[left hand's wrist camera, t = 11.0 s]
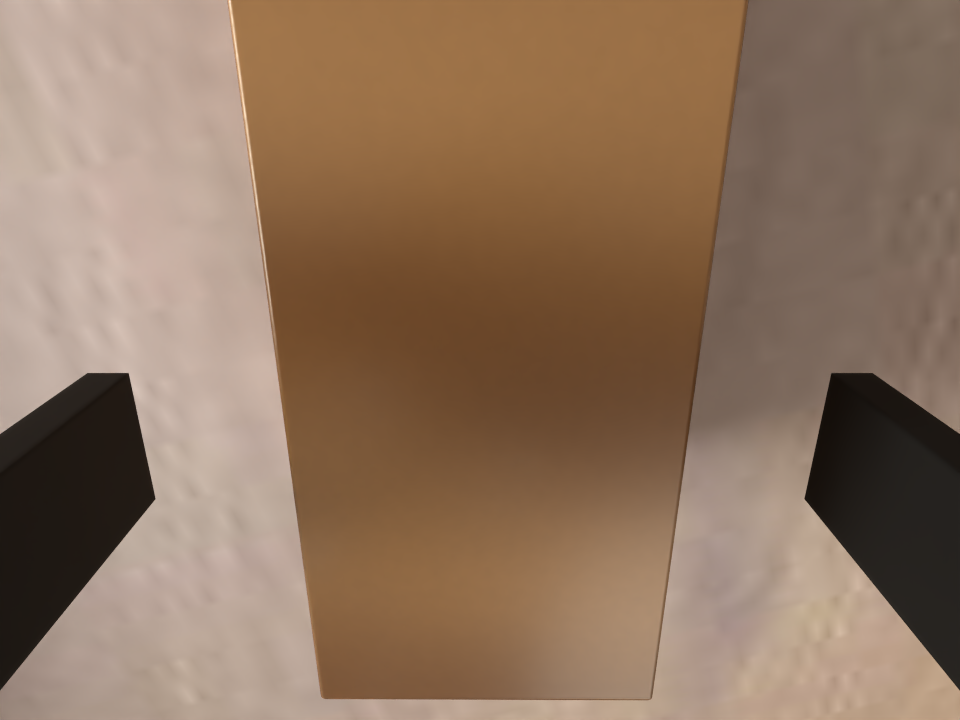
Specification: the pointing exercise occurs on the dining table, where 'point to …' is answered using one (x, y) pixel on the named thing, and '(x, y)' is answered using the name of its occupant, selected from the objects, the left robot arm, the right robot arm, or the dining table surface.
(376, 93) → the beam
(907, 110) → the dining table surface
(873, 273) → the dining table surface
